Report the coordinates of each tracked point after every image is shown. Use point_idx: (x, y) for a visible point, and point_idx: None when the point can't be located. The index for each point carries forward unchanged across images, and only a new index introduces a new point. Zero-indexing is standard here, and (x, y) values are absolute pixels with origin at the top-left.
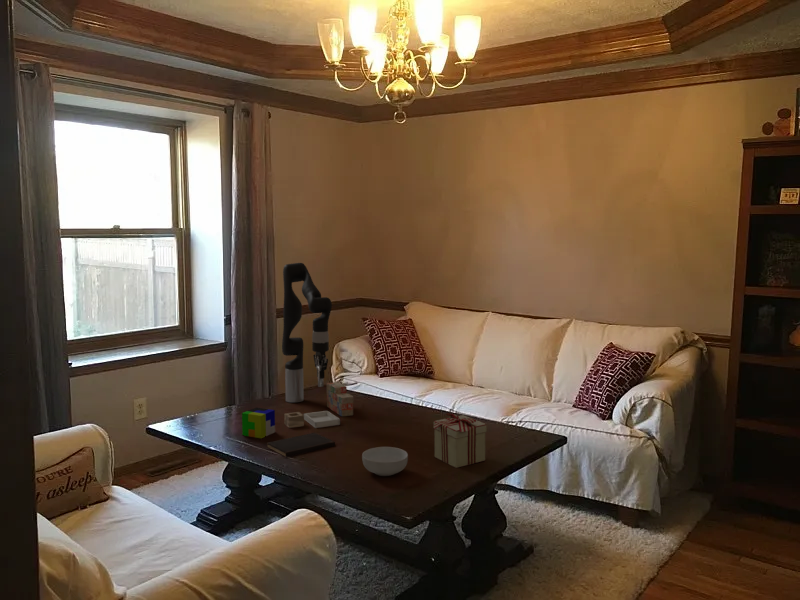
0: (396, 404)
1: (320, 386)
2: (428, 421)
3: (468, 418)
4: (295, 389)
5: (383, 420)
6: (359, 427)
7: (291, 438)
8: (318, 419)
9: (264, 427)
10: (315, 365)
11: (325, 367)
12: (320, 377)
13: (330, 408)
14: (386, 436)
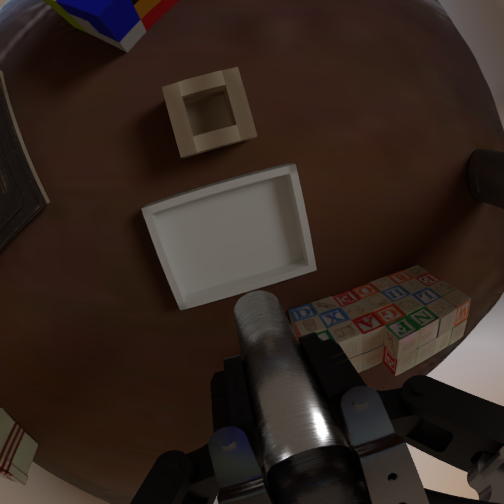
0: None
1: (235, 311)
2: None
3: (11, 478)
4: (499, 179)
5: None
6: (146, 351)
7: (6, 129)
8: (250, 223)
9: (72, 19)
10: (417, 394)
11: (185, 499)
12: (224, 367)
13: (389, 275)
14: (75, 388)
